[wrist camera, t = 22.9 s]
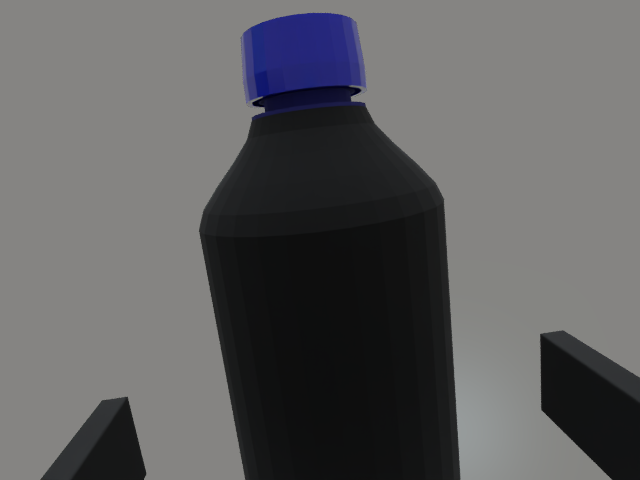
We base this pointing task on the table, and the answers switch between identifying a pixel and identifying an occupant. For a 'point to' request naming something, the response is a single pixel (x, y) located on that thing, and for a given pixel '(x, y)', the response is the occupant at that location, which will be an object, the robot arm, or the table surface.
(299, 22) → the bottle
